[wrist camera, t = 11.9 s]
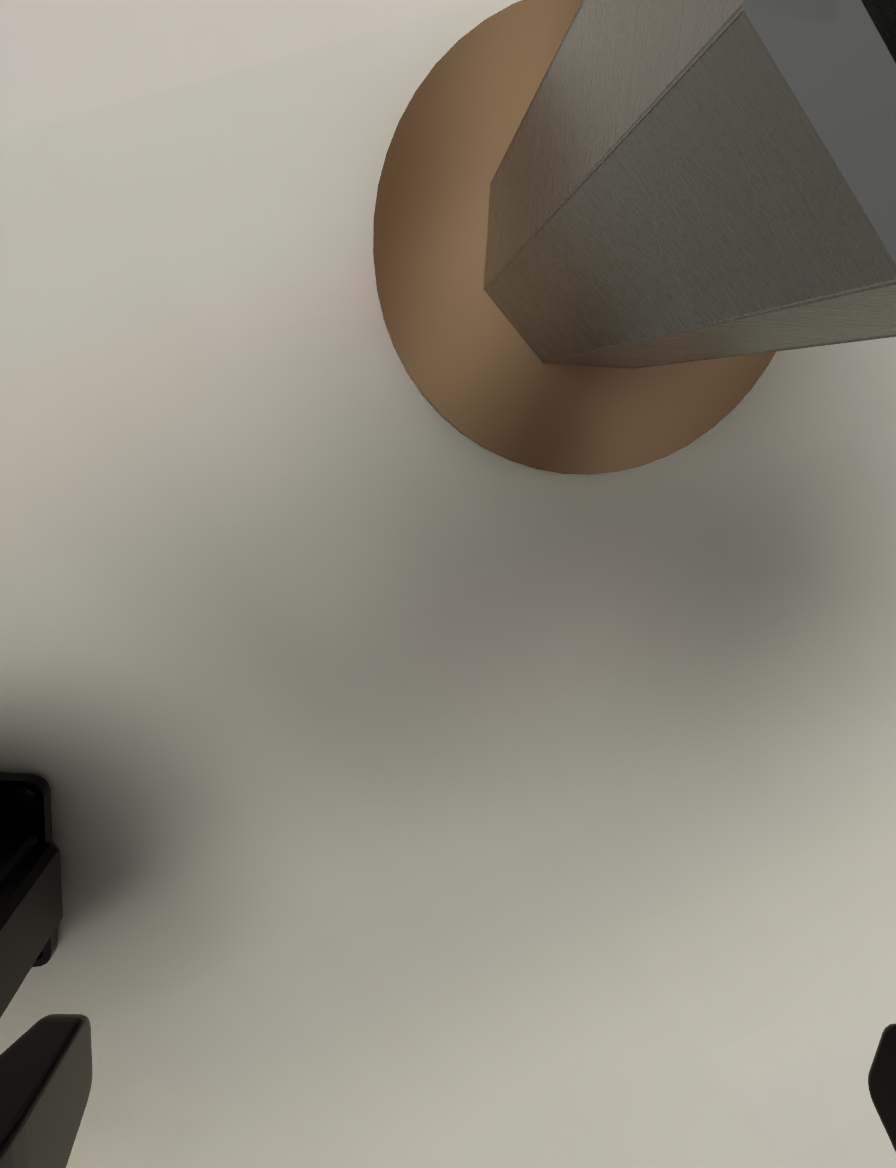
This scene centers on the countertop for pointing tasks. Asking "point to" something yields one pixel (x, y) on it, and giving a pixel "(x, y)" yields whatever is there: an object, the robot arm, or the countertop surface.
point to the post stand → (457, 265)
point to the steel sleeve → (702, 184)
